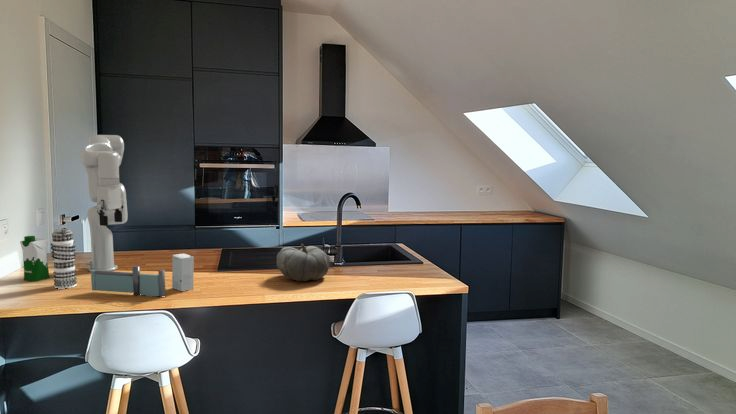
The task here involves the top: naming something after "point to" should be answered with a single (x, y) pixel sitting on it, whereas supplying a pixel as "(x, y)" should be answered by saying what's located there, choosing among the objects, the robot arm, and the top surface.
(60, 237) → the black and white bottle
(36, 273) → the milk carton
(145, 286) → the fence panel
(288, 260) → the gourd
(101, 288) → the gate
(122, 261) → the top surface
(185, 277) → the skincare box
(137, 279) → the hinge post
